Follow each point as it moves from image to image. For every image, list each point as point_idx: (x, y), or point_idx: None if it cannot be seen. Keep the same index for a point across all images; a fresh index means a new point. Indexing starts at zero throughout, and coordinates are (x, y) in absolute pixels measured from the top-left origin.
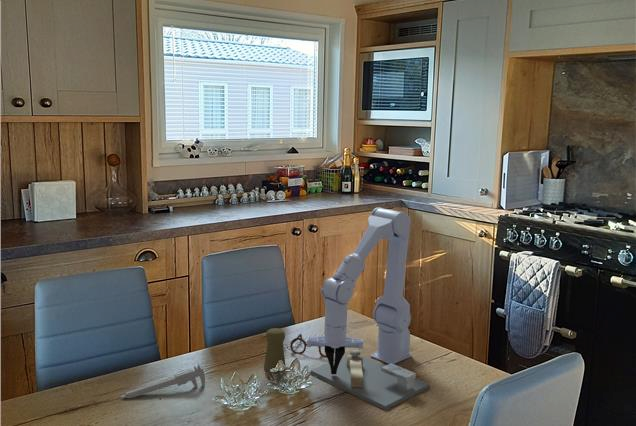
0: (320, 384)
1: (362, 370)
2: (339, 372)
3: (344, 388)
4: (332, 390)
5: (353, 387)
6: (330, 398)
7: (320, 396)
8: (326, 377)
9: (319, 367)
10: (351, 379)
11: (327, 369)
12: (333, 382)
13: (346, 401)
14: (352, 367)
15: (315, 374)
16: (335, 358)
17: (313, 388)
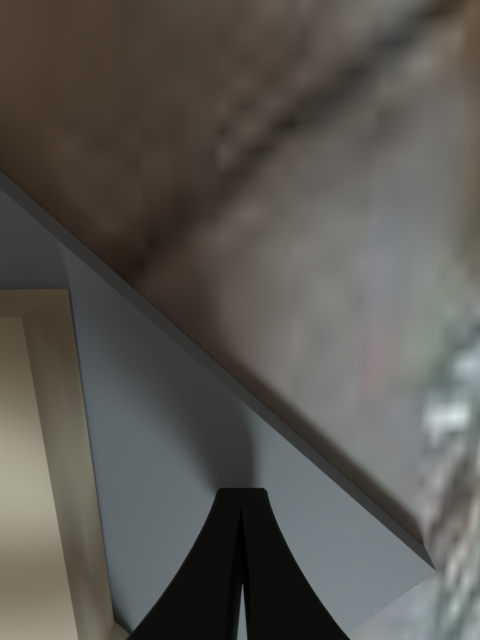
0: (354, 384)
1: None
2: None
3: (140, 301)
4: (251, 284)
5: None
6: (271, 116)
7: (368, 150)
8: (306, 463)
9: (357, 615)
10: (29, 313)
11: None
12: (242, 396)
13: (110, 64)
14: (43, 564)
15: (391, 524)
16: (222, 635)
17: (422, 307)
